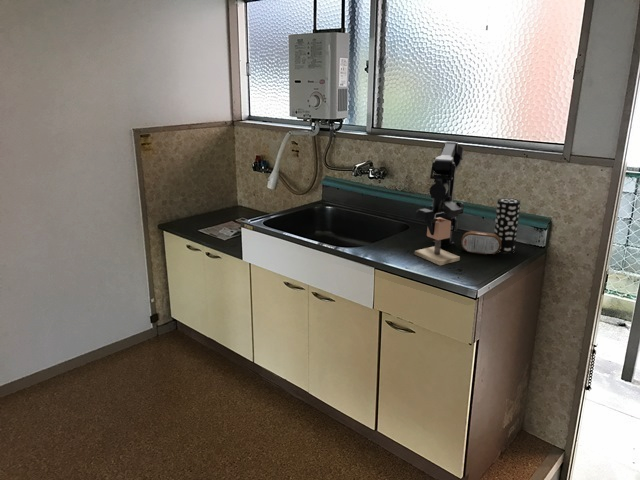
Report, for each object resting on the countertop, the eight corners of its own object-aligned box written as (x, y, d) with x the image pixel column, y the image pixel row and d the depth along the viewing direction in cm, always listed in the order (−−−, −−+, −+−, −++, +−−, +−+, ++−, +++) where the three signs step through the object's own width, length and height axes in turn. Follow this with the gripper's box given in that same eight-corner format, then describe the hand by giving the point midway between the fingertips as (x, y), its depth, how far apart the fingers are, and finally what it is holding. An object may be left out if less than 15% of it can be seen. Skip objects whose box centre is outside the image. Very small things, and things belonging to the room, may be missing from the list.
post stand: (433, 249, 207) (435, 229, 204) (459, 260, 196) (461, 238, 193) (414, 254, 202) (415, 233, 199) (439, 265, 191) (441, 243, 188)
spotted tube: (508, 254, 201) (514, 204, 195) (488, 250, 207) (493, 200, 200) (518, 249, 207) (524, 200, 201) (498, 245, 212) (503, 197, 206)
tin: (500, 254, 202) (502, 233, 200) (499, 256, 200) (502, 235, 197) (460, 249, 207) (462, 229, 205) (459, 252, 205) (461, 231, 202)
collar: (438, 233, 200) (439, 217, 198) (449, 237, 195) (451, 221, 193) (426, 236, 197) (427, 219, 195) (437, 240, 192) (439, 223, 190)
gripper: (437, 200, 180) (434, 243, 185) (476, 194, 189) (472, 235, 194) (416, 194, 189) (414, 235, 194) (453, 188, 198) (450, 227, 203)
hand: (438, 233), depth 196 cm, fingers closed on collar, 6 cm apart
